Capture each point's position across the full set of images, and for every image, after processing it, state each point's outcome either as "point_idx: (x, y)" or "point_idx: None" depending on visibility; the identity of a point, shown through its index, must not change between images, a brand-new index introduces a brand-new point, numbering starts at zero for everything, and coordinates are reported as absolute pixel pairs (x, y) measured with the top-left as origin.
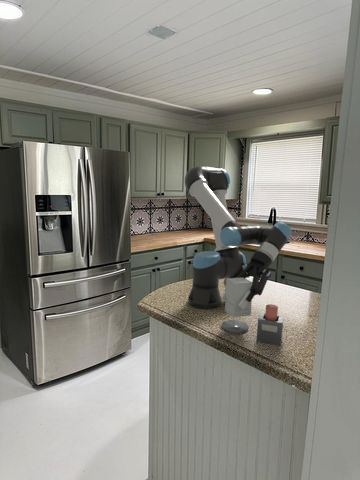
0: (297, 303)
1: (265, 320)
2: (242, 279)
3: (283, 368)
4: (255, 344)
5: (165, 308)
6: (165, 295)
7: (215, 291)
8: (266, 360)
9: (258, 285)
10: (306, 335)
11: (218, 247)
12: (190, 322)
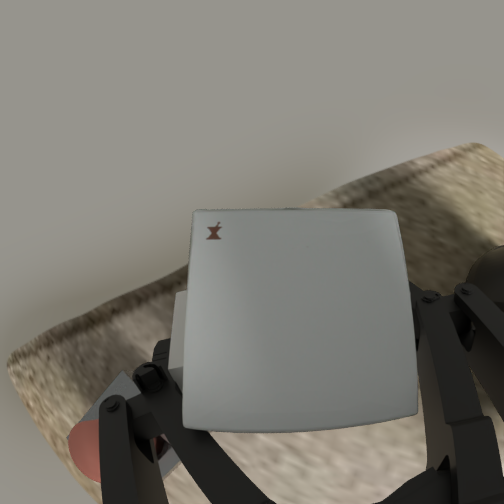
0: None
1: (103, 393)
2: (326, 364)
3: (31, 341)
4: (141, 355)
5: (458, 176)
6: None
7: None
8: (64, 325)
9: (119, 443)
10: None
11: None
12: (359, 208)
